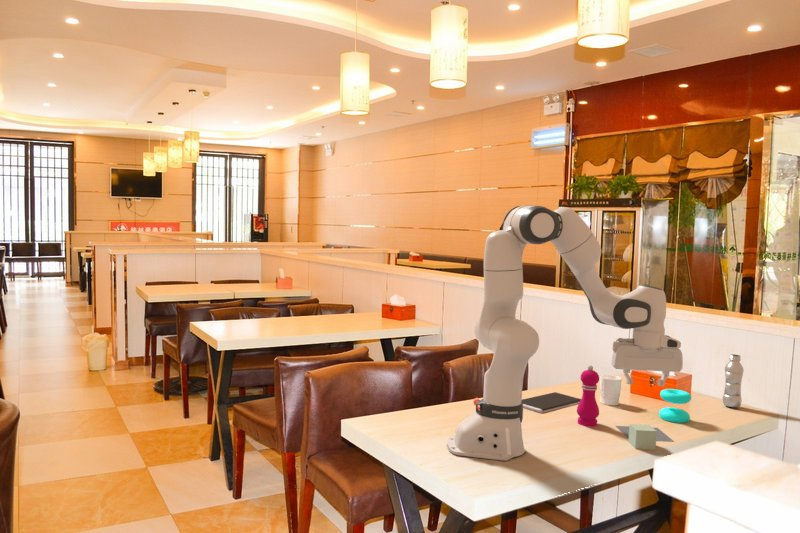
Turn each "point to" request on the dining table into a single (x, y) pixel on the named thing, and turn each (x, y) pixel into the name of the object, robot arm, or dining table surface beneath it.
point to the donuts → (677, 398)
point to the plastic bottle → (733, 382)
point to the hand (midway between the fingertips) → (645, 384)
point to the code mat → (660, 434)
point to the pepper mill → (588, 399)
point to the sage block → (642, 436)
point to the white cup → (610, 389)
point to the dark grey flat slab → (549, 402)
